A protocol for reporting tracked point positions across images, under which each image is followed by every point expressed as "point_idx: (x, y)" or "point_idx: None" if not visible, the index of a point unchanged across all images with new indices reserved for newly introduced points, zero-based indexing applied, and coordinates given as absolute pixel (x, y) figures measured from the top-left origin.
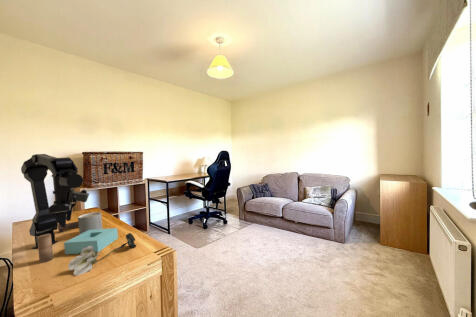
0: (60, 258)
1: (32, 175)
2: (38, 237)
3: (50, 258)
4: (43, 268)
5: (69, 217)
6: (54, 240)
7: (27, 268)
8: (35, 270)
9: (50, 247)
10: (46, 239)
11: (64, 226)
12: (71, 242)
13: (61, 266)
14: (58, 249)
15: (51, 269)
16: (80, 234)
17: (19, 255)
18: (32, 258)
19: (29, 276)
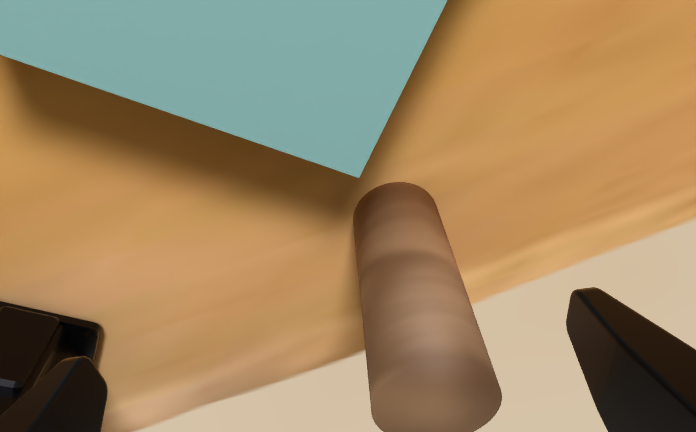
0: (431, 122)
1: None
2: (471, 427)
3: (422, 196)
4: (564, 177)
5: (57, 428)
6: (2, 321)
7: (472, 276)
8: (557, 216)
9: (432, 255)
10: (482, 345)
11: (601, 296)
12: (403, 88)
13: (649, 44)
14: (178, 219)
15: (643, 108)
16: (89, 72)
17: (188, 402)
18: (292, 318)
19: (640, 211)
